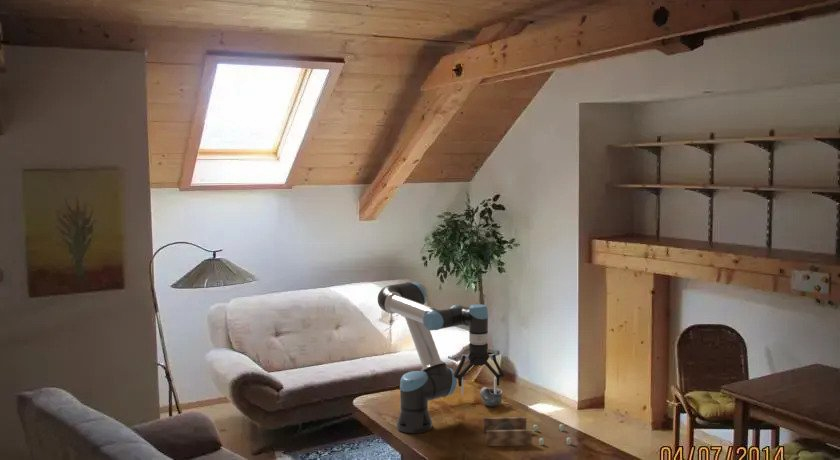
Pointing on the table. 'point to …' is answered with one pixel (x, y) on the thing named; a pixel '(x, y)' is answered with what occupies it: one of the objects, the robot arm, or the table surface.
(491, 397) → the mug
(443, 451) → the table surface
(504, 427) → the stone
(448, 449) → the table surface
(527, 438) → the channel
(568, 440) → the zone posts
